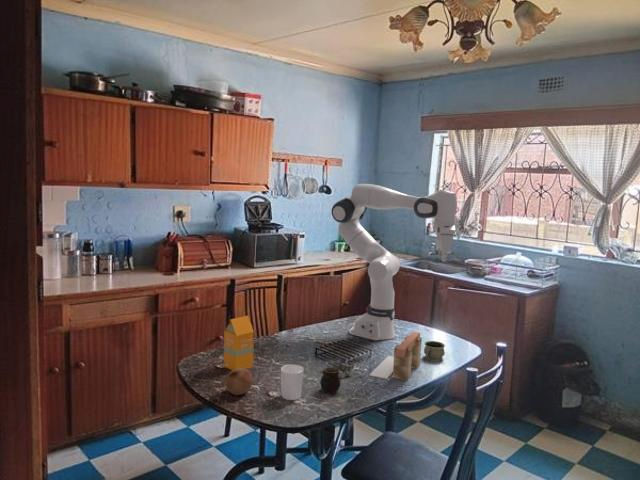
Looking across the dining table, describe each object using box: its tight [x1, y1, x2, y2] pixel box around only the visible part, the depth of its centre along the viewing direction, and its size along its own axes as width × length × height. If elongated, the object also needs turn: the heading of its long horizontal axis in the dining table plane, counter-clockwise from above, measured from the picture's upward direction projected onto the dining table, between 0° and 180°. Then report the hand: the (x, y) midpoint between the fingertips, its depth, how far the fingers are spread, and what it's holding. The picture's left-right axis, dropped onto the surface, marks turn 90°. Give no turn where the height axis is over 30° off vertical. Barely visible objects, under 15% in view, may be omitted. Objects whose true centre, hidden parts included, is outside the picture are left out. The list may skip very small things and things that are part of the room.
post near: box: [392, 344, 413, 382], centre depth 197 cm, size 6×4×12 cm, turn 64°
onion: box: [225, 368, 254, 396], centre depth 178 cm, size 10×9×10 cm
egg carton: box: [325, 360, 355, 379], centre depth 200 cm, size 11×8×4 cm
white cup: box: [280, 364, 304, 401], centre depth 177 cm, size 8×8×10 cm
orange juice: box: [223, 315, 255, 371], centre depth 202 cm, size 8×9×20 cm
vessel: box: [423, 340, 446, 362], centre depth 220 cm, size 12×9×6 cm
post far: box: [404, 334, 423, 370], centre depth 210 cm, size 6×4×12 cm, turn 65°
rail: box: [396, 331, 421, 357], centre depth 203 cm, size 3×24×3 cm, turn 155°
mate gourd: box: [319, 364, 342, 394], centre depth 183 cm, size 7×8×10 cm
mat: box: [369, 355, 394, 381], centre depth 208 cm, size 7×24×1 cm, turn 154°
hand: (442, 259), depth 222 cm, fingers open, 8 cm apart
